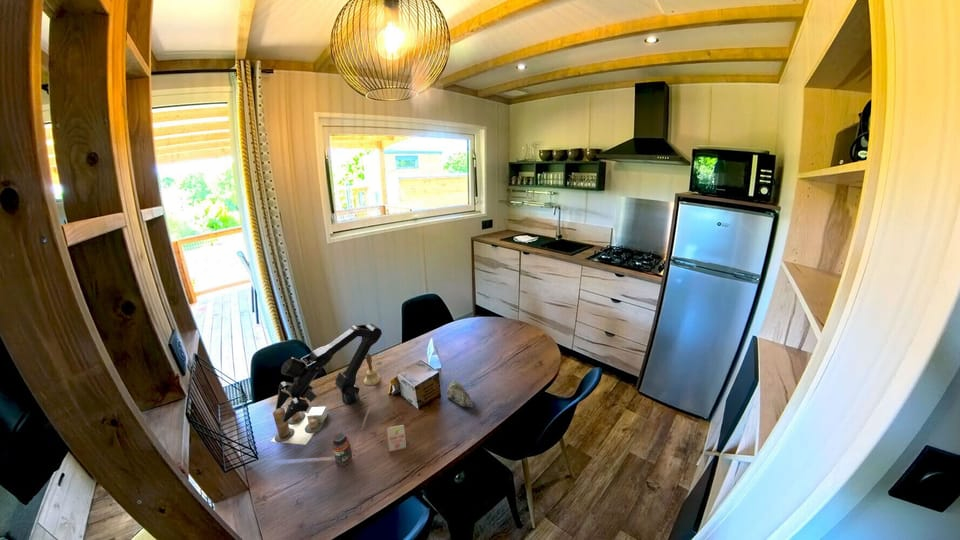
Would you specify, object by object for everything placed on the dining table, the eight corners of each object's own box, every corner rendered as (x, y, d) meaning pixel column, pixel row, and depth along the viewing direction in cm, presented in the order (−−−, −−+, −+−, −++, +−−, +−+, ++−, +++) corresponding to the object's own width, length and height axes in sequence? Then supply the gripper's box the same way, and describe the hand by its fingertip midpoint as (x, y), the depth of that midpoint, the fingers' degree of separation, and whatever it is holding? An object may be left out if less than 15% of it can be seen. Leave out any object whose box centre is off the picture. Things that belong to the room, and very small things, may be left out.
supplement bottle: (346, 450, 129) (342, 427, 125) (355, 457, 126) (351, 434, 122) (332, 461, 124) (327, 438, 121) (341, 469, 121) (337, 445, 117)
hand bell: (377, 385, 165) (374, 358, 160) (361, 385, 165) (357, 358, 160) (382, 375, 173) (379, 348, 168) (367, 375, 173) (363, 348, 168)
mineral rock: (473, 410, 149) (473, 392, 145) (450, 414, 146) (449, 396, 143) (467, 391, 160) (467, 374, 157) (446, 395, 158) (445, 378, 155)
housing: (327, 413, 146) (325, 406, 145) (323, 422, 141) (321, 415, 140) (313, 414, 146) (311, 407, 144) (308, 423, 141) (306, 415, 140)
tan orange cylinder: (292, 432, 136) (286, 408, 132) (284, 439, 133) (278, 416, 129) (285, 430, 137) (278, 406, 133) (276, 437, 134) (270, 414, 130)
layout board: (331, 416, 146) (330, 409, 144) (309, 447, 130) (307, 439, 129) (294, 413, 148) (292, 406, 146) (268, 443, 132) (266, 435, 131)
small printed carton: (388, 444, 131) (385, 424, 128) (405, 440, 133) (403, 421, 130) (388, 452, 128) (385, 432, 125) (406, 448, 130) (404, 428, 126)
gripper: (329, 394, 135) (306, 431, 132) (312, 375, 148) (290, 407, 144) (306, 388, 127) (280, 427, 124) (289, 368, 140) (266, 402, 136)
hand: (280, 415), depth 132 cm, fingers open, 9 cm apart
